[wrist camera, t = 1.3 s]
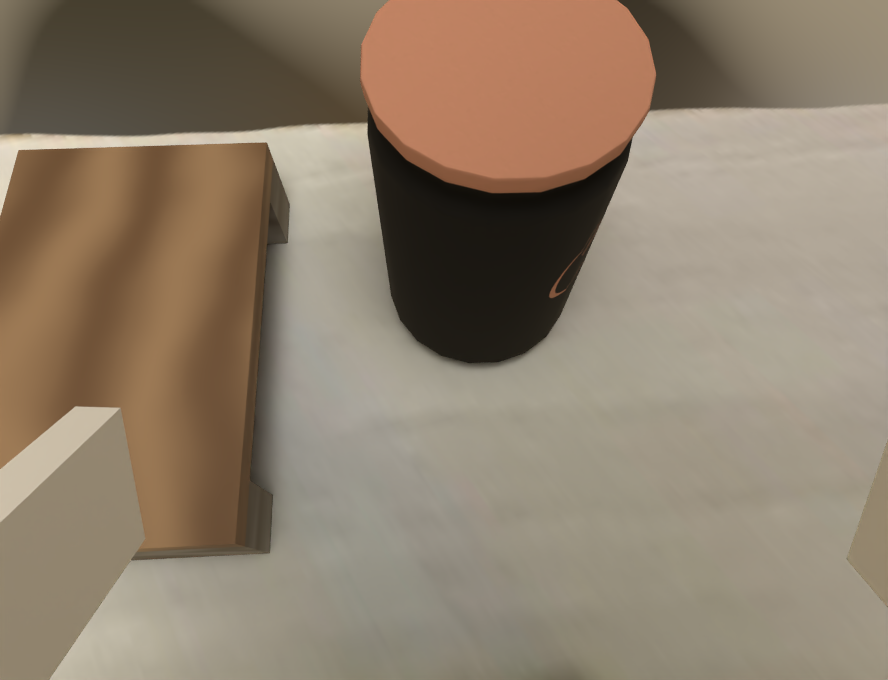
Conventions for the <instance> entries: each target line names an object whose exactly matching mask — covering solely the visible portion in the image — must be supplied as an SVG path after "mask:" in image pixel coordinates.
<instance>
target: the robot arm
mask: <svg viewBox="0 0 888 680" xmlns="http://www.w3.org/2000/svg"><path fill="white" fill-rule="evenodd" d="M144 540H145V534H144V529H143V524H142V518H141V513H140V508H139V503H138V497H137V492H136V487H135V481H134V476H133V471H132V466H131V460H130V455H129V450H128V444H127V439H126V434H125V428H124V423H123V418H122V413H121V408H110V407H77V406H75V407H74V408H73V409H72V410H71V411H69V412H68V413H67V414H66V415H65V416H63V417H62V418H61V419H60V420H59V421H57V422H56V423H55V424H54V425H53V426H51V427H50V428H49V429H48V430H47V431H45V432H44V433H43V434H42V435H41V436H39V437H38V438H37V439H36V440H35V441H33V442H32V443H31V444H30V445H29V446H27V447H26V448H25V449H24V450H23V451H21V452H20V453H19V454H18V455H17V456H16V457H14V458H13V459H12V460H11V461H10V462H8V463H7V464H6V465H5V466H4V467H2V468H1V469H0V680H49V679H50V677H51V676H52V674H53V673H54V672H55V670H56V669H57V667H58V666H59V664H60V663H61V661H62V660H63V658H64V657H65V655H66V654H67V653H68V651H69V650H70V648H71V647H72V645H73V644H74V642H75V641H76V639H77V638H78V636H79V635H80V634H81V632H82V631H83V629H84V628H85V626H86V625H87V623H88V622H89V620H90V619H91V617H92V616H93V615H94V613H95V612H96V610H97V609H98V607H99V606H100V604H101V603H102V601H103V600H104V598H105V597H106V595H107V594H108V593H109V591H110V590H111V588H112V587H113V585H114V584H115V582H116V581H117V579H118V578H119V576H120V575H121V574H122V572H123V571H124V569H125V568H126V566H127V565H128V563H129V562H130V560H131V559H132V557H133V556H134V555H135V553H136V552H137V550H138V549H139V547H140V546H141V544H142V543H143V541H144ZM847 560H848V561H849V563H850V564H851V565H852V566H853V567H854V568H855V570H856V571H857V572H858V573H859V574H860V575H861V577H862V578H863V579H864V580H865V581H866V582H867V584H868V585H869V586H870V587H871V588H872V589H873V591H874V592H875V593H876V594H877V595H878V596H879V598H880V599H881V600H882V601H883V602H884V604H885V605H886V606H887V607H888V441H887V444H886V447H885V450H884V453H883V455H882V458H881V461H880V464H879V467H878V470H877V473H876V476H875V479H874V481H873V484H872V487H871V490H870V493H869V496H868V499H867V502H866V505H865V507H864V510H863V513H862V516H861V519H860V522H859V525H858V528H857V531H856V534H855V536H854V539H853V542H852V545H851V548H850V551H849V554H848V557H847Z"/></svg>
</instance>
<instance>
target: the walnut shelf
mask: <svg viewBox="0 0 888 680" xmlns="http://www.w3.org/2000/svg"><path fill="white" fill-rule="evenodd" d="M289 208H290V204H289V201H288V198H287V196H286V193H285V190H284V188H283V185H282V182H281V180H280V177H279V174H278V172H277V169H276V166H275V163H274V161H273V158H272V155H271V153H270V150H269V147H268V145H267V143H236V144H204V145H171V146H139V147H107V148H74V149H42V150H19V151H18V154H17V158H16V162H15V165H14V169H13V173H12V176H11V180H10V183H9V187H8V191H7V194H6V198H5V202H4V205H3V209H2V213H1V216H0V469H1V468H2V467H4V466H5V465H6V464H7V463H8V462H10V461H11V460H12V459H13V458H14V457H16V456H17V455H18V454H19V453H20V452H21V451H23V450H24V449H25V448H26V447H27V446H29V445H30V444H31V443H32V442H33V441H35V440H36V439H37V438H38V437H39V436H41V435H42V434H43V433H44V432H45V431H47V430H48V429H49V428H50V427H51V426H53V425H54V424H55V423H56V422H57V421H59V420H60V419H61V418H62V417H63V416H65V415H66V414H67V413H68V412H69V411H71V410H72V409H73V408H74V407H75V406H77V407H110V408H121V413H122V418H123V423H124V428H125V434H126V439H127V444H128V450H129V455H130V460H131V466H132V471H133V476H134V481H135V487H136V492H137V497H138V503H139V508H140V513H141V518H142V524H143V529H144V534H145V540H144V541H143V543H142V544H141V546H140V547H139V549H138V550H137V552H136V553H135V555H134V556H133V557H132V559H131V560H146V559H165V558H185V557H204V556H224V555H244V554H263V553H270V537H271V519H272V502H273V495H272V494H270V493H269V492H267V491H266V490H264V489H262V488H261V487H259V486H258V485H256V484H255V483H253V482H251V481H250V470H251V457H252V443H253V429H254V415H255V402H256V388H257V374H258V361H259V347H260V333H261V319H262V306H263V292H264V278H265V264H266V251H267V244H276V243H287V242H288V225H289Z"/></svg>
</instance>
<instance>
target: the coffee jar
mask: <svg viewBox="0 0 888 680" xmlns="http://www.w3.org/2000/svg"><path fill="white" fill-rule="evenodd" d="M655 79H656V71H655V67H654V62H653V58H652V54H651V49H650V45H649V40H648V38H647V37H646V35H645V34H644V32H643V31H642V29H641V28H640V27H639V25H638V23H637V22H636V21H635V19H634V17H633V16H632V14H631V13H630V12H629V10H628V9H627V8H626V7H625V6H623V5H622V4H621V3H620V2H618V1H617V0H389V1H388V2H387V3H386V4H385V5H384V6H383V7H382V8H381V9H380V10H379V11H378V12H377V13H376V15H375V17H374V19H373V21H372V23H371V25H370V27H369V30H368V32H367V34H366V36H365V38H364V41H363V43H362V45H361V73H360V82H361V86H362V89H363V94H364V97H365V99H366V102H367V104H368V140H369V147H370V154H371V161H372V168H373V174H374V181H375V188H376V195H377V202H378V208H379V215H380V222H381V229H382V236H383V242H384V249H385V256H386V263H387V270H388V276H389V283H390V290H391V296H392V299H393V302H394V304H395V307H396V310H397V313H398V315H399V318H400V320H401V321H402V323H403V324H404V325H405V326H406V327H407V329H408V330H409V331H410V332H411V333H412V335H413V336H414V337H415V338H416V339H417V340H418V341H419V342H421V343H422V344H424V345H425V346H427V347H429V348H430V349H432V350H433V351H435V352H437V353H438V354H440V355H442V356H445V357H449V358H453V359H457V360H460V361H464V362H468V363H480V362H499V361H502V360H505V359H508V358H511V357H514V356H517V355H520V354H523V353H525V352H526V351H528V350H529V349H530V348H532V347H533V346H534V345H536V344H537V343H538V342H540V341H541V340H542V339H544V338H545V337H546V336H547V334H548V333H549V331H550V330H551V328H552V327H553V325H554V324H555V322H556V321H557V319H558V318H559V316H560V315H561V312H562V310H563V308H564V305H565V303H566V301H567V299H568V296H569V294H570V292H571V289H572V287H573V285H574V283H575V280H576V278H577V276H578V273H579V271H580V269H581V267H582V264H583V262H584V260H585V257H586V255H587V253H588V251H589V248H590V246H591V244H592V241H593V239H594V237H595V235H596V232H597V230H598V228H599V225H600V223H601V221H602V219H603V216H604V214H605V212H606V210H607V207H608V205H609V203H610V200H611V198H612V196H613V194H614V191H615V189H616V187H617V184H618V182H619V180H620V178H621V175H622V173H623V171H624V168H625V166H626V164H627V162H628V157H629V152H630V148H631V143H632V138H633V136H634V134H635V133H636V131H637V130H638V129H639V127H640V126H641V124H642V123H643V121H644V119H645V117H646V116H647V114H648V112H649V109H650V104H651V99H652V94H653V89H654V84H655Z"/></svg>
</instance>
